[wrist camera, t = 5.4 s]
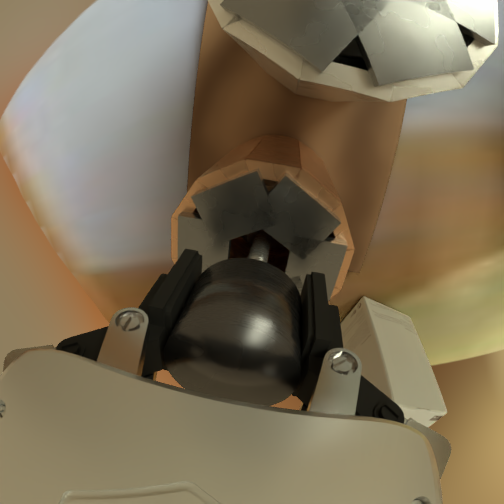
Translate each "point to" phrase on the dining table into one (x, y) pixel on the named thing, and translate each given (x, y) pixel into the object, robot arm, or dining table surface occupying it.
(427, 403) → the skincare box
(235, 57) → the walnut board
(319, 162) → the copper press
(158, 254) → the dining table surface
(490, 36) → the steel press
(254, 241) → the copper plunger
